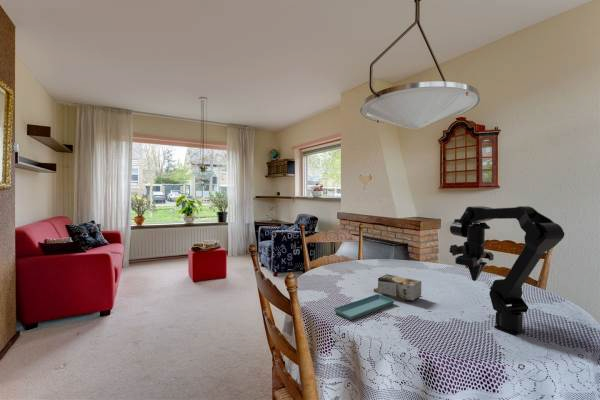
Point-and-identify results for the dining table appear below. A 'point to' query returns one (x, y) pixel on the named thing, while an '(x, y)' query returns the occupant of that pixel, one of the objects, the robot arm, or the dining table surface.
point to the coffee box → (399, 286)
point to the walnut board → (391, 295)
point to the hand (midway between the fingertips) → (474, 280)
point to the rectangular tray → (364, 306)
